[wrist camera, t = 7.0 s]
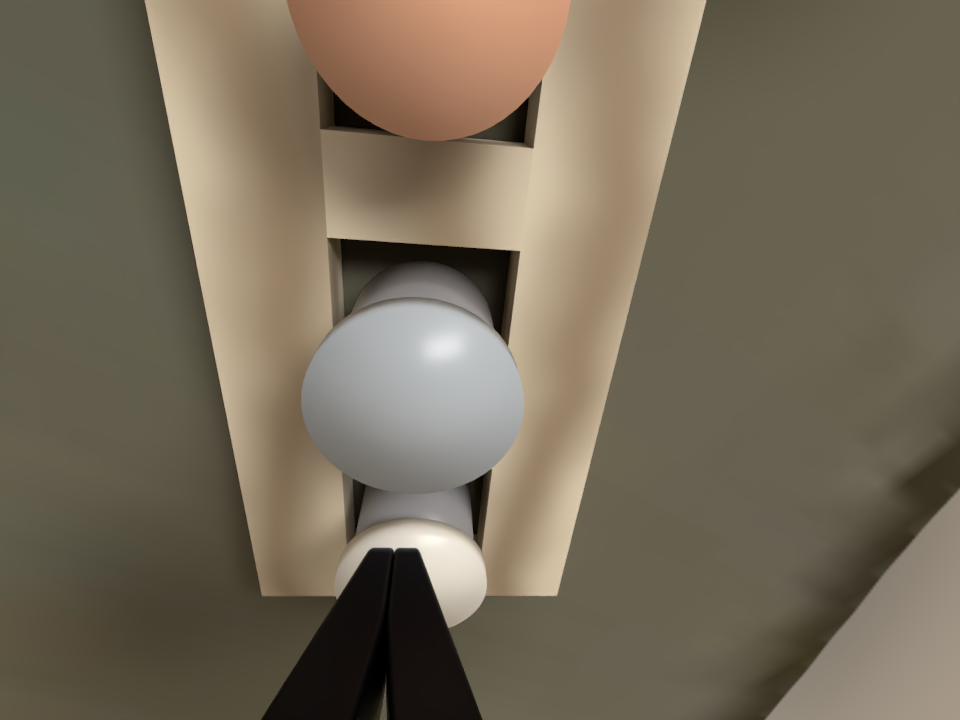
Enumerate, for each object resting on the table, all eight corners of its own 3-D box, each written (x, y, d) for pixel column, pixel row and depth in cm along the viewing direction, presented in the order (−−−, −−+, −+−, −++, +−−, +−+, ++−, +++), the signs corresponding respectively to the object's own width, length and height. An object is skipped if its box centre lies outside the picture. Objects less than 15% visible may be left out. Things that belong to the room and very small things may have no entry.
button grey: (343, 394, 18) (310, 492, 13) (335, 242, 15) (290, 302, 11) (495, 399, 18) (510, 495, 14) (512, 254, 16) (538, 316, 11)
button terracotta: (339, 119, 15) (294, 129, 10) (327, -129, 12) (261, -257, 8) (519, 136, 15) (549, 151, 11) (546, -98, 13) (599, -201, 8)
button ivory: (358, 534, 23) (338, 635, 19) (354, 442, 21) (329, 535, 16) (473, 535, 24) (480, 634, 19) (484, 445, 21) (494, 537, 17)
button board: (275, 559, 24) (261, 596, 22) (134, -282, 11) (75, -355, 9) (549, 561, 25) (556, 595, 24) (719, -186, 12) (765, -233, 10)
